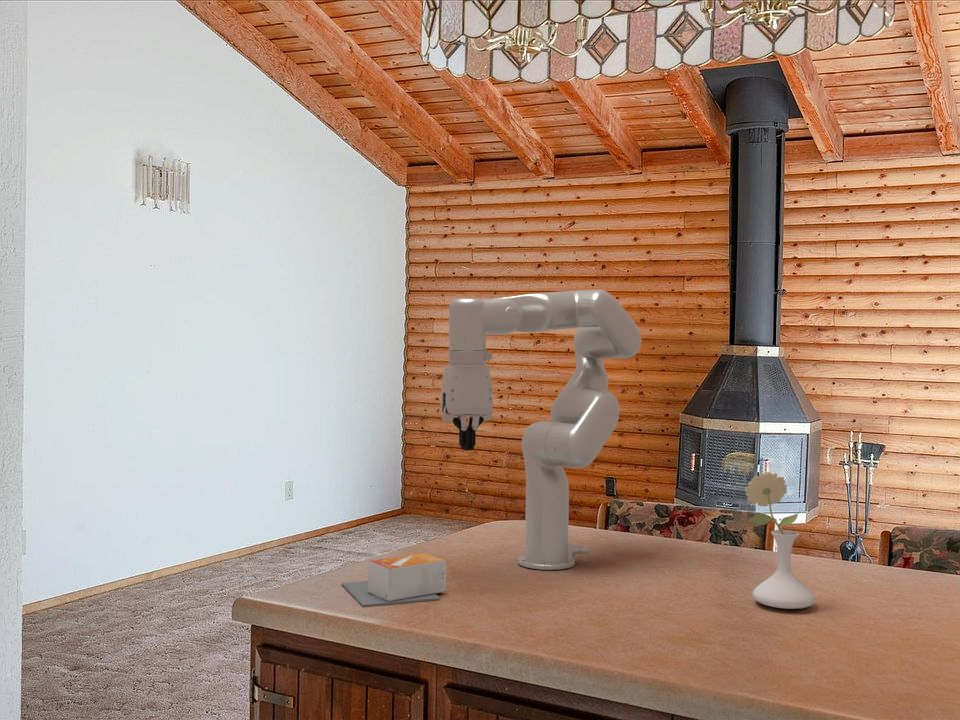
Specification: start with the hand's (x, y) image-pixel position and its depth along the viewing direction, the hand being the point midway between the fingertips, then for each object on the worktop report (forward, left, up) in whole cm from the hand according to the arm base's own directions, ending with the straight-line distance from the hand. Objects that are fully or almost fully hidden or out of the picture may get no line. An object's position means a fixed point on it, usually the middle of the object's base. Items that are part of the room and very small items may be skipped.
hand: (467, 449), depth 193 cm
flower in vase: (-50, +35, -27) cm, 67 cm away
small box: (+8, +3, -24) cm, 25 cm away
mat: (+17, +2, -27) cm, 32 cm away
